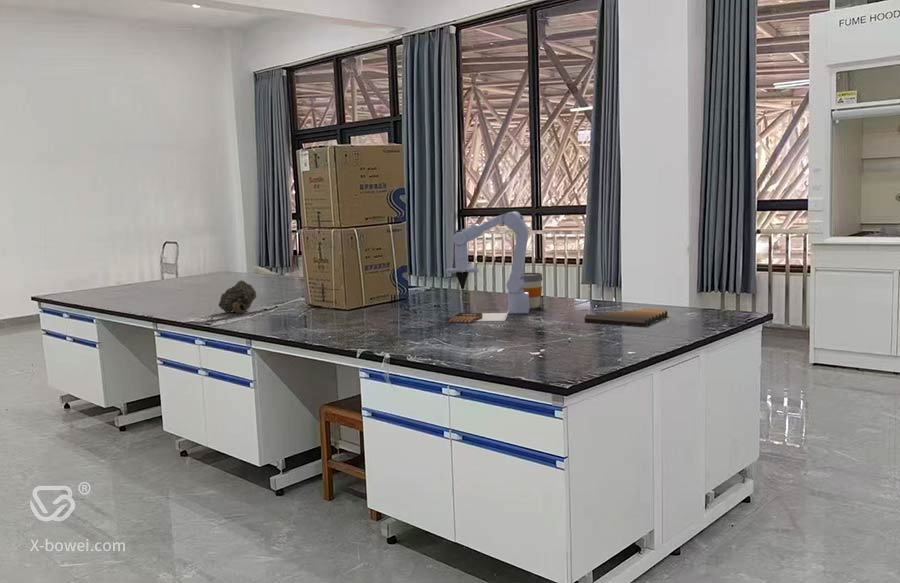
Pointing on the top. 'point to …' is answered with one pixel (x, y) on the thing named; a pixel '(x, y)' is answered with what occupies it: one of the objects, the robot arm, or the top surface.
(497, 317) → the mat
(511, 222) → the robot arm
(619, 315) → the pan flute
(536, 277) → the reusable coffee cup
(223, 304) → the rock
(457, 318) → the ammunition clip
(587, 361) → the top surface
